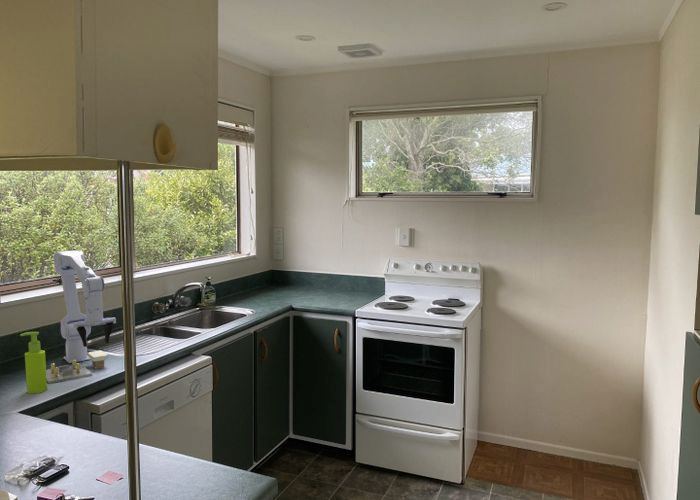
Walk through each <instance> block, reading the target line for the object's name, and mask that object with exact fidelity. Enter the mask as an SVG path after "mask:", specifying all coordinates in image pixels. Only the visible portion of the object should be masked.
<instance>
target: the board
mask: <svg viewBox="0 0 700 500" xmlns="http://www.w3.org/2000/svg"><path fill="white" fill-rule="evenodd" d="M87 356H88V357H89V358H90V359H89V360H91V361H92V360H93V361H94V362H95V361H101V360H104V361H105V360H106V361H107V360H109V355H108V354H107V353H106V352H104V351H103V350H95V351H89V352H88V351H87Z"/></svg>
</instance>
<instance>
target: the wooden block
mask: <svg viewBox="0 0 700 500" xmlns="http://www.w3.org/2000/svg"><path fill="white" fill-rule="evenodd" d="M91 363H92V364H91V365H92V366H93V367H94V368H95V369H102V368H105V360H101V361H95V362H94V361H93V360H91Z"/></svg>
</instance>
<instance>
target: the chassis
mask: <svg viewBox="0 0 700 500" xmlns="http://www.w3.org/2000/svg"><path fill="white" fill-rule="evenodd" d="M55 364H56V363H54V362H53V363H50V368H49V369H46V377H47V384H49V385H50V384H54V383H55V384H56V383H59V382H66V381H70V380H75V379H80V378H85V377H92V376H93V373H92V372H91V371H90V370H89V369H88V368H86V367H85V366H84V365H83V364H82V363H81V362H76V360H72V363H71V364H72V365H71V364H70V365H69V364H65V365H59V366H56V365H55Z"/></svg>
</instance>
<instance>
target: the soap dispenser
mask: <svg viewBox="0 0 700 500" xmlns="http://www.w3.org/2000/svg"><path fill="white" fill-rule="evenodd" d="M39 333H40V331H26V332H24V333H20V334H19V337H24V336H30V341H29V342H28V351H27V352H25V353H24V362H25V367H24V368H25V377H26V393H27V394H31V395H32V394H39V393H43V392H45V391H47V390H48V382H47V377H46V370H47V366H46V365H47V364H46V351H45V350H44V349H43V350H42V349H41V341H40V340H38V335H39Z"/></svg>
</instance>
